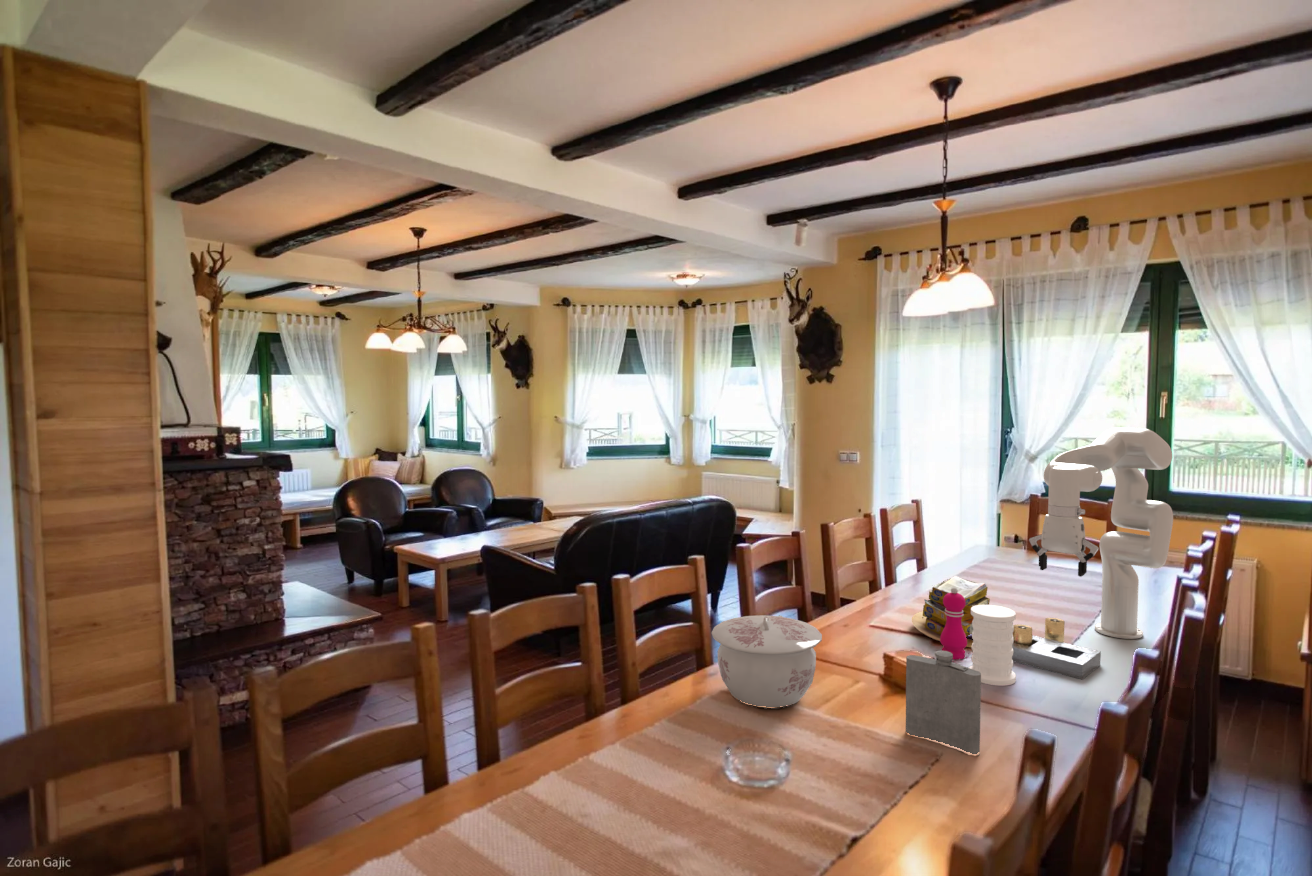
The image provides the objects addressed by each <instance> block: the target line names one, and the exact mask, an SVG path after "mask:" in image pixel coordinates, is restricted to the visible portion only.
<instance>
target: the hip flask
mask: <svg viewBox="0 0 1312 876" xmlns="http://www.w3.org/2000/svg"><path fill="white" fill-rule="evenodd" d="M934 657H935V658H931V657H927V656H920V655H912V654H909V655H907V656H906V662H905V663H906V670H905V672H906V673H905V675H906V676H905V733H906V732H907V733H909V734H910V735H915V736H918V737H924V738H929V739H931V740H936V741H938V742H943V743H945V744H949V745H950V746H954V747H957V748H960V749H962V750H964V751H966V752H970V753H972V754H977V753H978V752H980V753H981V748H980V747H981V743H980V742H981V704H982V703H981V700H982V699H981V697H982V696H981V695H982V694H981V693H982V683H981V673H980V672H979V671H976V670H973V669H970V668H969V667H967V666H964V665H961V664H958V663H956V662H953V660H954V659H953V654H952V653H951V652H948V651H942V650H936V651H935V653H934Z"/></svg>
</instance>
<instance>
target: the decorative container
mask: <svg viewBox="0 0 1312 876" xmlns="http://www.w3.org/2000/svg"><path fill="white" fill-rule="evenodd" d="M971 615H972V616H974V619H973V621H972V627H973V632H972V639H973V643H972V647H971V651H972V655H971V662H972V665H970V666H969V667H968V668H970V669H973V670H976V671H979V672H980V673H981V684H986V685H989V686H990V685H991V686H999V687H1002V686H1003V687H1004V686H1010V685H1014V684H1015V683H1016V682H1017V674H1016V673H1015V672H1014V671H1013V667H1014V661H1013V660H1012V656H1013V653H1014V652H1013V648H1012V644H1013V641H1014V638H1013V636H1012V634H1013V631H1014V625H1015V624H1014V623H1013V622H1014V621H1015V620H1016V618H1017V615H1016V611H1015V610H1013V609H1011V608H1009V607H1006V606H1001V605H993V604H989V605H976V606H973V607H971Z"/></svg>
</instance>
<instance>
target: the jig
mask: <svg viewBox="0 0 1312 876" xmlns="http://www.w3.org/2000/svg"><path fill="white" fill-rule="evenodd" d="M1013 625H1014V631H1013V634H1012V636H1013V638H1014V641H1013V644H1012V648H1013V652H1014V653H1013V656H1012V660H1013V663H1017V664H1018V663H1019V664H1022V665H1026V666H1030V667H1034V668H1037V669H1040V670H1044V671H1047V672H1052V673H1055V674H1056V673H1057V674H1059V675H1064V676H1066V677H1070V678H1075V679H1079V680H1082V681H1083V680H1084V679H1086V677H1088V676H1089V675H1090V674H1091V673H1093V672H1094V671H1095V670H1096V669H1098V668H1099V667H1100V666H1101V659H1102V655H1101V654H1102V653H1101V650H1097V649H1092V648H1088V647H1083V646H1081V645H1080V646H1079V645H1076V644H1071V643H1067V642H1064V643H1063V642H1059V641H1055V640H1051V639H1046V638H1045V637H1041V636H1038V635H1033V627H1031V626H1029V625H1026V624H1019V623H1018V624H1013Z"/></svg>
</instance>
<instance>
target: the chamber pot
mask: <svg viewBox="0 0 1312 876" xmlns="http://www.w3.org/2000/svg"><path fill="white" fill-rule="evenodd" d="M711 635H712V638H713V639H714V640H715V641H716V642H717V643H719V644H720V645H719V646H718V648H717V649H718V650H717V664H718V669H719V673H720V677H721V679H722V682H723V684H724V685H725V687H726V688H727V690H728V691H729V692H730V693H729V694H730V695H731V696H732V697H734V698H735V699H736V698H737V699H738V700H741V701H742V702H745V703H748V704H752V705H756V706H766V707H780V706H786V705H791V704H793V705H794V704H797V703H798V702H799V701H801V699H802V698H803V697H804V696H805V694H806V693H807V692H808V690H809V689H810V687H811V686H812V684H813V681H814V677H815V672H816V666H817V665H816V664H817V652H816V651H815V649H814V648H815V647H816V646H817V645H818V644H819V643H821V642H822V639H823V634H822V633H821V632H820V631H819V630H818V628H817V627H815V626H814V625H812V624H810V623H808V622H805V621H803V620H798V619H795V618H790V617H785V616H783V615H765V614H764V615H763V614H762V615H745V616H739V617H733V618H729V619H726V620H724V621H721V622H720V623H718V624H717V625H715V626H714V627H713V629H712V631H711ZM819 645H820V644H819ZM737 699H736V700H737ZM738 700H737V701H738ZM742 702H741V703H742ZM791 706H792V705H791Z"/></svg>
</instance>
